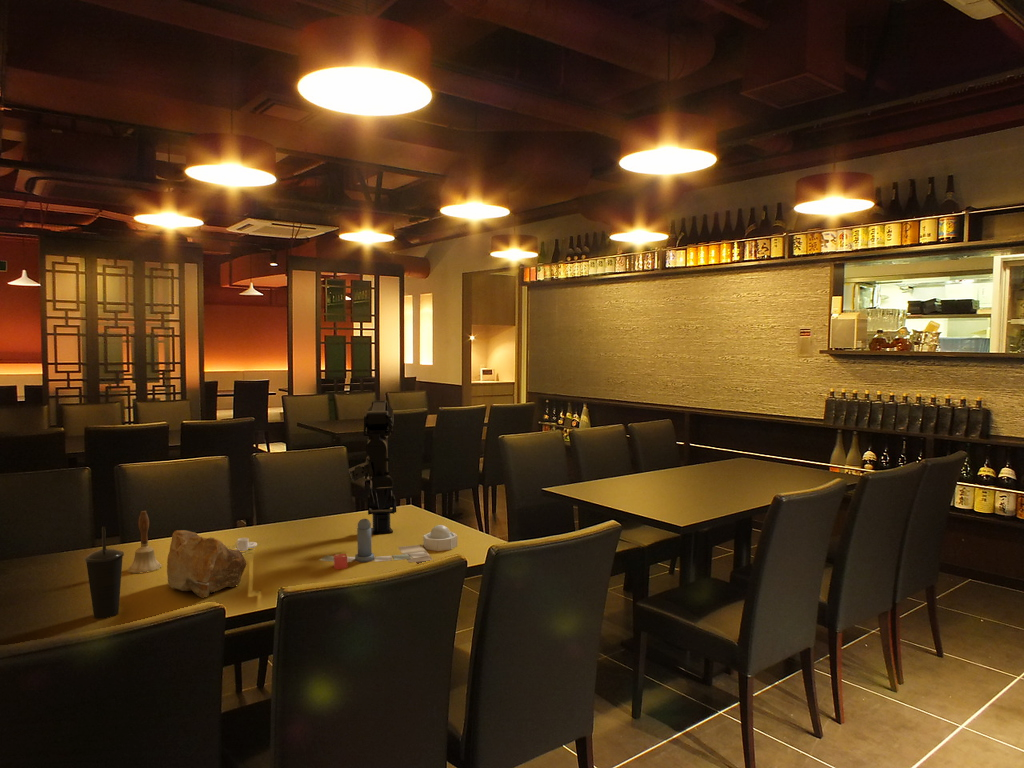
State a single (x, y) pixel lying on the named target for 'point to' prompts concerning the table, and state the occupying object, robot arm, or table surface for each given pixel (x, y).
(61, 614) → the table surface
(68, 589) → the table surface
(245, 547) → the teacup and saucer
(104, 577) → the drinking cup
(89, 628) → the table surface
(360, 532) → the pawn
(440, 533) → the dome button
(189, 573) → the rough brown rock
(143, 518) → the hand bell
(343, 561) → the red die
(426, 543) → the dome housing
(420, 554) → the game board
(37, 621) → the table surface
